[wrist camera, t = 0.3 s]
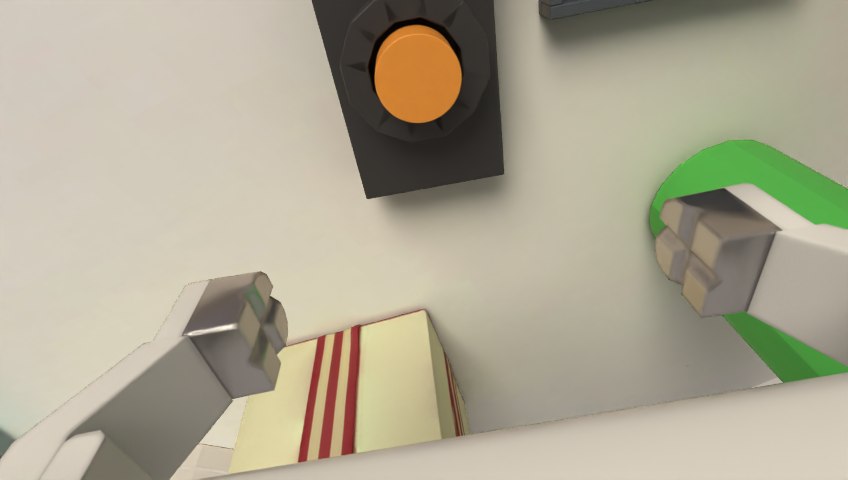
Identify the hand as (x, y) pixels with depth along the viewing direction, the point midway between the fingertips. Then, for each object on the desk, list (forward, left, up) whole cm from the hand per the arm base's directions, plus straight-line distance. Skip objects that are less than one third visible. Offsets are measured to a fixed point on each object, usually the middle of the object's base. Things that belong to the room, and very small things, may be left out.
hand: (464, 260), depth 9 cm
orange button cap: (-1, 0, -13) cm, 13 cm away
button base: (-1, 0, -18) cm, 18 cm away
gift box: (+27, -8, -18) cm, 34 cm away
